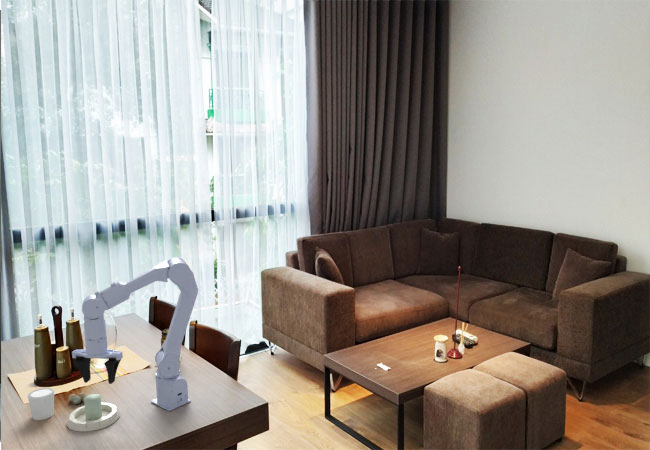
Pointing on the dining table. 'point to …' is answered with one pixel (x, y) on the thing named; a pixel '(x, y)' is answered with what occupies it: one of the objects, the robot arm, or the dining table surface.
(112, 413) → the round bowl
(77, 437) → the dining table surface
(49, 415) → the white cylinder
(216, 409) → the dining table surface
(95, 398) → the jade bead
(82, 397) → the bead pile
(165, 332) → the condiment
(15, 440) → the dining table surface
